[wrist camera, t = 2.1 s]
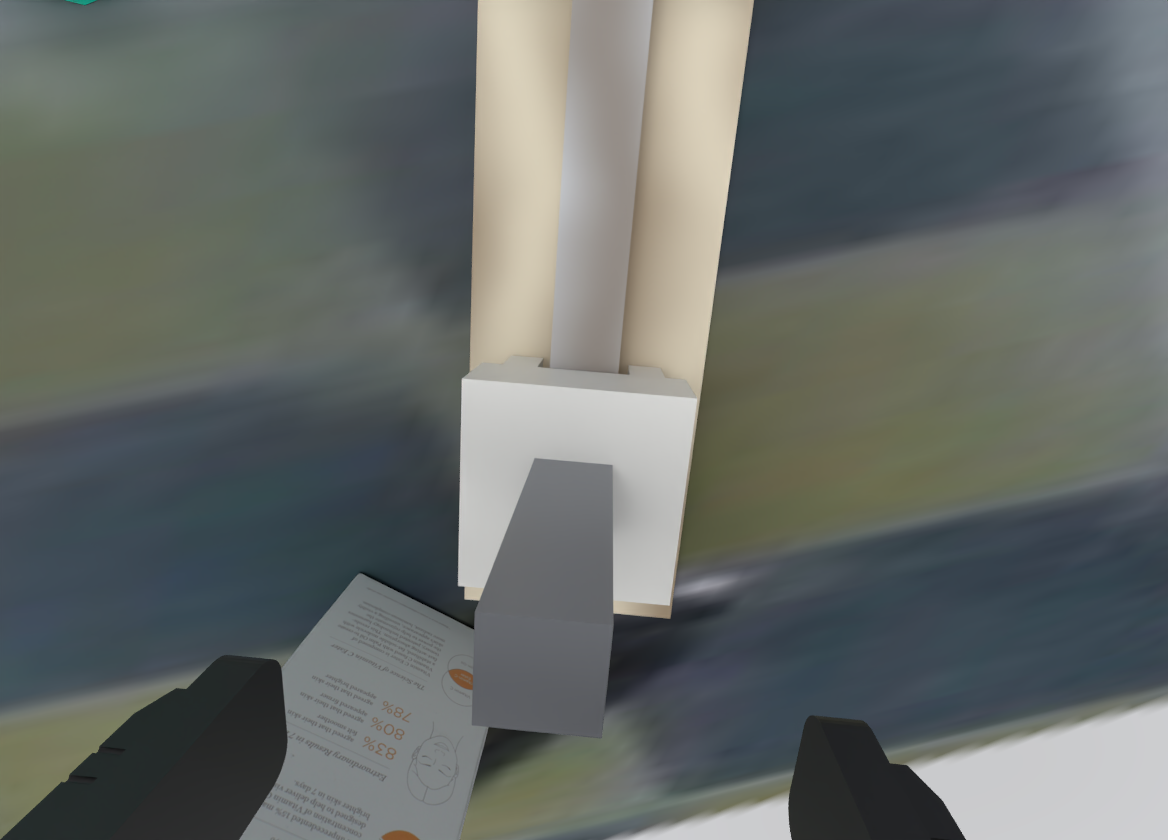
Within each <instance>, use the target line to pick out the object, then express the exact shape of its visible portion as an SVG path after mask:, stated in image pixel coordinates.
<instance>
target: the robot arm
mask: <svg viewBox="0 0 1168 840" xmlns="http://www.w3.org/2000/svg"><path fill="white" fill-rule="evenodd" d="M287 743H288V736H287V725H286V714H285V702H284V691H283V679H282V670H281V666H280V664H279V663H278V662H277V661H276V660H272V659H262V658H252V657H242V656H232V655H224V656H222V657H220V658H218V659H217V660H216V661H214V662H213V663H212V664H211V665H210V666H209V667H208V668H207V669H206V670H205V671H204V672H203V673H202V674H201V675H200V676H199V677H198V678H197V679H196V680H195V681H194V682H193V683H192V684H191V685H190V686H189V687H188V688H187V689H179V688H176V689H174V690H173V691H171V692H169V693H168V694H166V695H164V696H163V697H161V698H159V699H158V700H156V701H154V702H153V703H151V704H149V705H148V706H146V707H144V708H143V709H141V710H140V711H138V712H136V713H135V714H133V715H132V716H131V717H130V718H129V719H128V720H127V721H126V722H125V723H124V724H123V725H122V726H121V727H120V728H118V729H117V730H116V731H115V732H114V733H113V734H112V735H111V736H110V737H109V738H108V739H107V740H106V741H105V742H104V743H103V744H101V745H100V746H99V750H98V752H97V753H92V754H91V755H90V756H89V757H88V758H87V759H86V760H84V761H83V762H82V763H81V764H80V765H79V766H78V767H77V768H76V769H75V770H74V771H73V772H72V773H71V774H70V775H69V779H68V780H67V781H66V782H61V783H60V784H59V785H58V786H57V787H56V788H55V789H54V790H53V791H52V792H50V793H49V794H48V795H47V796H46V797H45V798H44V799H43V800H42V801H41V802H40V803H39V804H38V805H37V806H36V807H35V808H33V809H32V810H31V811H30V812H29V813H28V814H27V815H26V816H25V817H24V818H23V819H22V820H21V821H20V822H19V823H18V824H16V825H15V826H14V827H13V828H12V829H11V830H10V831H9V832H8V833H7V834H6V835H5V836H4V837H3V838H2V839H1V840H239V839H240V838H241V836H242V835H243V833H244V831H245V830H246V828H247V827H248V825H249V824H250V822H251V821H252V819H253V818H254V816H255V815H256V813H257V811H258V810H259V808H260V807H261V805H262V804H263V802H264V801H265V799H266V798H267V796H268V795H269V793H270V791H271V790H272V788H273V787H274V785H275V783H276V781H277V779H278V777H279V775H280V772H281V770H282V767H283V764H284V760H285V756H286V752H287ZM788 809H789V825H790V832H791V838H792V840H966V839H965V838H964V836H963V834H962V832H961V831H960V829H959V827H958V826H957V824H956V822H955V821H954V819H953V817H952V816H951V814H950V812H949V811H948V809H947V808H946V806H945V804H944V802H943V801H942V800H941V799H940V798H939V797H938V796H937V795H936V794H935V793H934V792H933V791H932V790H931V789H930V788H929V787H928V786H927V785H926V784H925V783H924V782H923V781H922V780H921V779H920V778H919V777H918V776H917V775H916V774H915V773H914V772H913V771H912V770H911V769H910V768H909V767H908V766H907V765H899V764H890V763H889V761H888V759H887V757H886V755H885V754H884V752H883V750H882V748H881V746H880V744H879V742H878V741H877V739H876V737H875V735H874V733H873V731H872V730H871V728H870V727H869V726H868V724H867V723H865V722H864V721H862V720H852V719H842V718H832V717H823V716H809V717H808V718H807V720H806V722H805V725H804V729H803V734H802V739H801V743H800V748H799V752H798V757H797V762H796V766H795V771H794V775H793V780H792V784H791V789H790V794H789V807H788Z"/></svg>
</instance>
